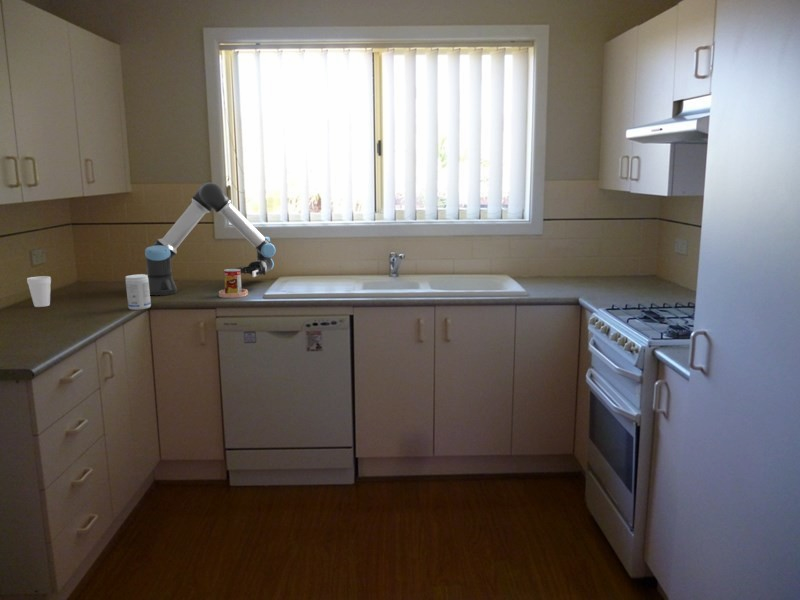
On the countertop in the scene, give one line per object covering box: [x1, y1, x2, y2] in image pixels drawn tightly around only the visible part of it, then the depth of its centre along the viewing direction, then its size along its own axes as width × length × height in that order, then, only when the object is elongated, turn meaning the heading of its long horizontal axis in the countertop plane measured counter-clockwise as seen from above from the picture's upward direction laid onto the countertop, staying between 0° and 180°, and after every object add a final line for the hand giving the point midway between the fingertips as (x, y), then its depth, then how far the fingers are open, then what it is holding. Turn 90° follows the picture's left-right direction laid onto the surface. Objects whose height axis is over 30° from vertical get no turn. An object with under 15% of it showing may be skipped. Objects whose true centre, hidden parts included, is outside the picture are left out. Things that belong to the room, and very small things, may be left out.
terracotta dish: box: [218, 288, 249, 299], centre depth 322 cm, size 14×14×2 cm
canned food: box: [223, 268, 242, 293], centre depth 321 cm, size 8×8×12 cm
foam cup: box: [26, 275, 52, 308], centre depth 301 cm, size 10×9×13 cm
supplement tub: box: [124, 273, 152, 311], centre depth 293 cm, size 10×10×15 cm
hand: (240, 274), depth 329 cm, fingers open, 13 cm apart
